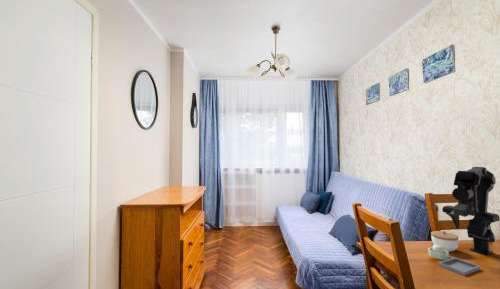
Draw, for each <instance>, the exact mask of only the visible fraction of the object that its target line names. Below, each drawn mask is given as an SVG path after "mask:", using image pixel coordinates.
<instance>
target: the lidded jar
mask: <svg viewBox="0 0 500 289" xmlns="http://www.w3.org/2000/svg"><path fill="white" fill-rule="evenodd" d="M430 235H431V236H430V237H431V242H432V245H440V246H443V247H444V250H446V251H448V252H454V251H456V250H457V249H458V246H459V236H458V235H456V234H454V233H452V232H447V231H445V230H442V231H440V230H435V231H431V232H430Z"/></svg>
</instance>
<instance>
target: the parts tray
mask: <svg viewBox="0 0 500 289" xmlns="http://www.w3.org/2000/svg"><path fill="white" fill-rule="evenodd" d="M438 266H439V267H441V268H444V269H446V270H448V271H451V272H453V273H456V274H459V275H461V276H464V277H465V276H467V275H469V274H473V273H475V272H477V271H480V270H481V265H478V264H475V263H472V262H470V261H466V260H464V259H461V258H457V257H455V256H454V257H451V258H449V259H448V260H442V261H440V262H438Z"/></svg>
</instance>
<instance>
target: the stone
mask: <svg viewBox="0 0 500 289" xmlns="http://www.w3.org/2000/svg"><path fill="white" fill-rule="evenodd" d="M432 247H433V252H435V253H440V254H444V247H443V246H440V245H434V244H432Z"/></svg>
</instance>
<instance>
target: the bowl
mask: <svg viewBox="0 0 500 289" xmlns="http://www.w3.org/2000/svg"><path fill="white" fill-rule="evenodd" d="M427 255H428V256H429V257H430V258H433V259H437V260H442V261H445V260H448V259H450V254H449V252H448V251H446V250H444V254H440V253H435V252H433V246H431V247H428V248H427Z"/></svg>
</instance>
